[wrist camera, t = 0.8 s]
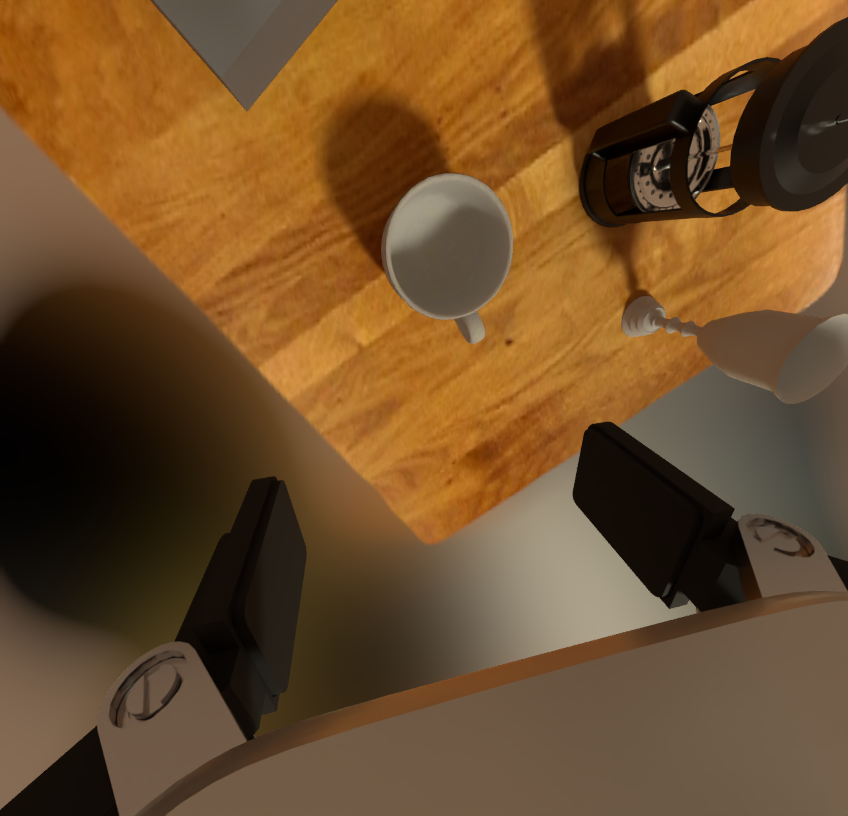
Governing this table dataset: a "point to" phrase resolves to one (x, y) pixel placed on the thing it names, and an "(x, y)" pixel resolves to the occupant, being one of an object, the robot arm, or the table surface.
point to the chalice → (759, 346)
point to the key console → (244, 37)
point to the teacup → (448, 249)
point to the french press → (752, 145)
